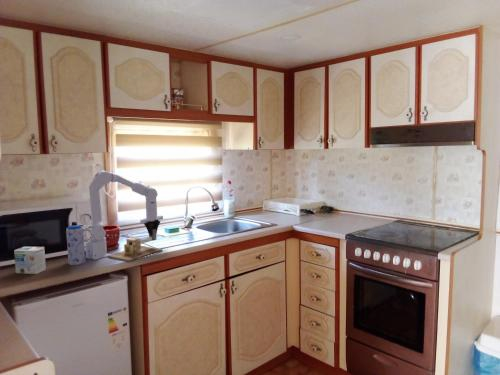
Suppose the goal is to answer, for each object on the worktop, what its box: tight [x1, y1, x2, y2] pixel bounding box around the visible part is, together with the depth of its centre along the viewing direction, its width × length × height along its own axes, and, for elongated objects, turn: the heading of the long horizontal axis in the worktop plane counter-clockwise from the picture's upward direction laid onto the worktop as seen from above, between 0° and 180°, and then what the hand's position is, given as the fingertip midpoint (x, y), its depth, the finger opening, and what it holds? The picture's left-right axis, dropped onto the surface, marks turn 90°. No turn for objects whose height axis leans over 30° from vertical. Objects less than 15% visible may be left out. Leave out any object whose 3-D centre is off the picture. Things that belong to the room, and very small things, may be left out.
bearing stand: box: [107, 236, 163, 263], centre depth 203 cm, size 22×16×8 cm
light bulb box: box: [13, 246, 47, 275], centre depth 179 cm, size 11×7×11 cm, turn 81°
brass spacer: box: [123, 243, 134, 255], centre depth 200 cm, size 2×5×5 cm, turn 57°
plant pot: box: [103, 224, 121, 251], centre depth 215 cm, size 13×13×12 cm
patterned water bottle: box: [65, 221, 87, 266], centre depth 191 cm, size 8×8×20 cm
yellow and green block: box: [140, 229, 158, 245], centre depth 208 cm, size 14×3×6 cm, turn 147°
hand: (152, 234), depth 213 cm, fingers closed on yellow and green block, 2 cm apart
